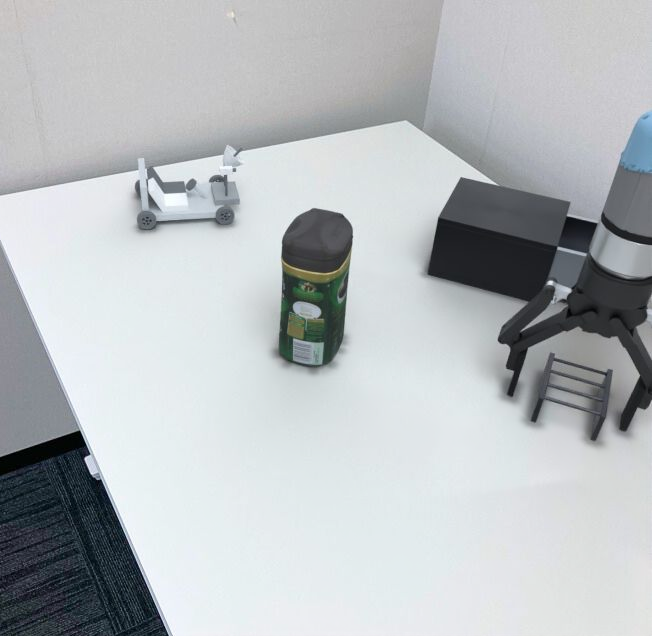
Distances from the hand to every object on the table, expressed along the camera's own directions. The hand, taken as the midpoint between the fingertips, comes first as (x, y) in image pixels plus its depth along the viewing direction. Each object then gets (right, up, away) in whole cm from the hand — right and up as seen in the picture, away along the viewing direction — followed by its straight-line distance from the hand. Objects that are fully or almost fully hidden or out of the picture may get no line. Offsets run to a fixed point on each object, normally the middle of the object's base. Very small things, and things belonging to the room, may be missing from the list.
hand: (566, 405), depth 92 cm
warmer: (-3, +20, +23) cm, 31 cm away
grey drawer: (+10, +17, +19) cm, 27 cm away
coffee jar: (-31, +7, +7) cm, 33 cm away
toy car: (-51, +30, +32) cm, 67 cm away
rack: (0, 0, 0) cm, 0 cm away
